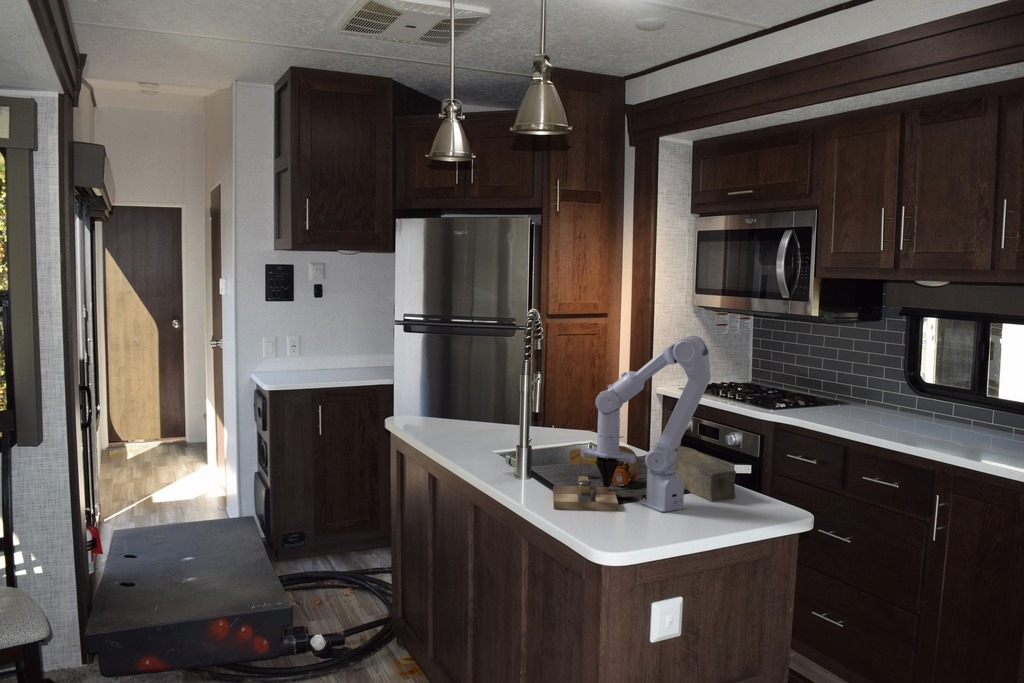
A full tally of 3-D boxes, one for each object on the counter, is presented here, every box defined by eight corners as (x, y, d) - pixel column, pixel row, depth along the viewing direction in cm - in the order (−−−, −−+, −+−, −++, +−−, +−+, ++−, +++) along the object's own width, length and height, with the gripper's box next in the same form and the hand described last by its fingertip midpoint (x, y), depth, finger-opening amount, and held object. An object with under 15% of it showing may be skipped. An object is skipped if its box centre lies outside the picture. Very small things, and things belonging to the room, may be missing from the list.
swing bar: (591, 493, 212) (591, 484, 212) (578, 493, 212) (578, 483, 212) (589, 483, 221) (589, 474, 221) (577, 483, 222) (577, 473, 221)
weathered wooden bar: (679, 476, 242) (684, 443, 241) (738, 505, 218) (744, 468, 217) (649, 476, 238) (654, 442, 237) (707, 506, 214) (713, 468, 213)
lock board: (613, 494, 220) (613, 477, 220) (617, 510, 207) (618, 492, 206) (553, 492, 221) (553, 476, 221) (553, 509, 207) (554, 491, 207)
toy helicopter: (630, 489, 225) (632, 440, 224) (562, 478, 236) (563, 431, 234) (641, 482, 232) (642, 434, 231) (574, 472, 243) (575, 426, 241)
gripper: (576, 435, 216) (575, 486, 217) (630, 441, 209) (628, 493, 211) (586, 430, 222) (585, 479, 223) (638, 436, 215) (637, 486, 217)
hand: (607, 486), depth 217 cm, fingers closed
